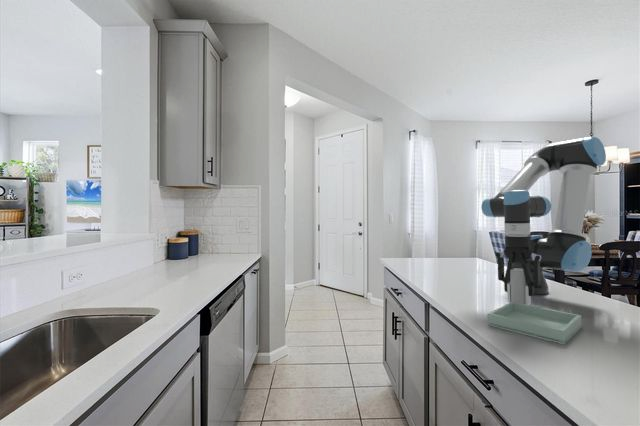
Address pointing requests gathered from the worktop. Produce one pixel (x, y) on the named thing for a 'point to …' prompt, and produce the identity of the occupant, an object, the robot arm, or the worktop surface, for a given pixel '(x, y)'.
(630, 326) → the worktop surface
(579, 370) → the worktop surface
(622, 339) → the worktop surface
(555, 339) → the tray
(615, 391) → the worktop surface
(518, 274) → the beverage can
